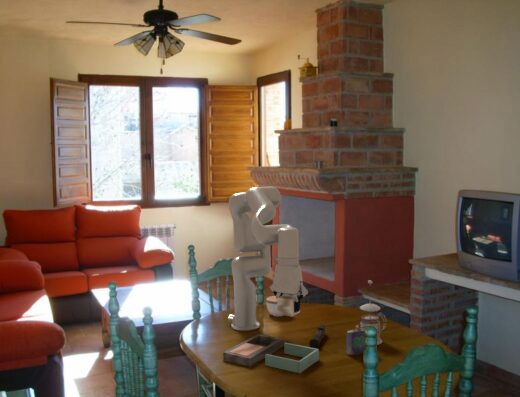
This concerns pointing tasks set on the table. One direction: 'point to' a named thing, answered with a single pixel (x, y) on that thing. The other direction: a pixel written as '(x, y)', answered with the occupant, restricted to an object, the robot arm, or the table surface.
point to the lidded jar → (272, 305)
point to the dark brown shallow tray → (253, 349)
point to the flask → (355, 341)
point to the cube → (286, 305)
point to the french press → (371, 317)
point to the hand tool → (317, 337)
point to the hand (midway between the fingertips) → (288, 309)
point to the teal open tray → (293, 365)
